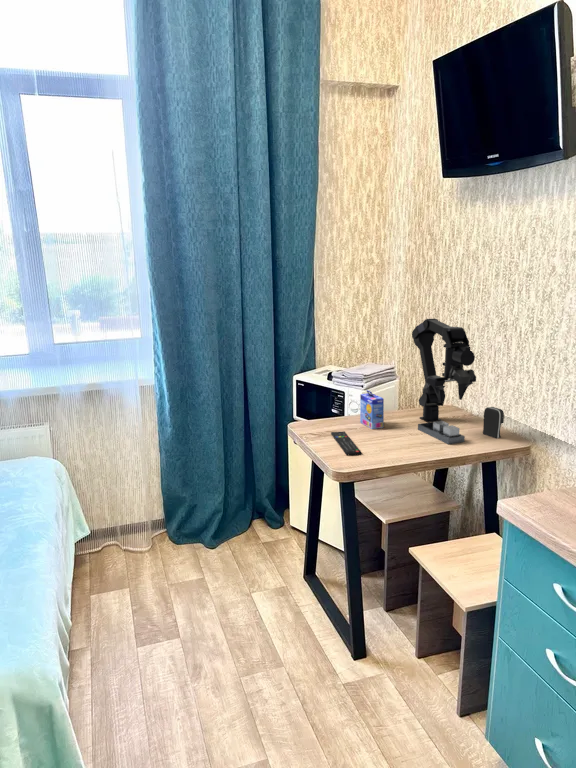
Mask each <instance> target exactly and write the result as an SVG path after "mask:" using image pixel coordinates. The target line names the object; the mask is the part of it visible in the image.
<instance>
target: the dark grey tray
mask: <svg viewBox="0 0 576 768" xmlns="http://www.w3.org/2000/svg"><path fill="white" fill-rule="evenodd" d="M417 430H418V431H420V432H421V433H424V434H426V435H428V436H430V437H432V438H434V439H436V440H438V441H441V442H442V443H444V444H446V445H448V446H449V445H455V444H456V445H457V444H461V443H465V437H466V436H465V435H463V434H461V433H459V437H453V438H448V437H446V436H444V435H443V432H442V433H438V432H436V431H434V430H433V422H424V423H418V424H417Z"/></svg>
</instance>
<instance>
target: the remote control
mask: <svg viewBox="0 0 576 768" xmlns="http://www.w3.org/2000/svg"><path fill="white" fill-rule="evenodd" d="M330 434H331V437H333V439H334V440H335V442H336V443H337V444H338V445H339V447H340V448H341V449H342V451H343V453H344V454H345V455H346V456H349V457H350V456H353V457H355V456H360V455H362V451H361V450H360V449H359V447H358V446H357V445H356V443H354V441H353V440H352V439H351V438H350V436H349V435H348V434H347V433H346V431H330Z"/></svg>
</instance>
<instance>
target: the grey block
mask: <svg viewBox="0 0 576 768" xmlns="http://www.w3.org/2000/svg"><path fill="white" fill-rule="evenodd" d="M444 426H450V425H449V423H448V422H446V421H444V420H441V421H434V422H433V430H434V431H436V432H438V433H442V432H443V427H444Z"/></svg>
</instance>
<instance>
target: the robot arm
mask: <svg viewBox="0 0 576 768" xmlns="http://www.w3.org/2000/svg"><path fill="white" fill-rule="evenodd" d="M436 335H439V336H440V337H441V340H442V341H443V342H444V344H443V348H445V354H444V362H442V366H444V370H443V371H444V372H442V373H441V376H439V375H437V372H436V366H435V360H434V354H433V349H432V346H433V344H434V341H435V336H436ZM411 337H412V340H413V343H414V346H416V347H417V348H418V351H419V355H420V360H421V365H422V373H423V377H424V386H423V388H422V394H421V395H420V397H419V399H418V405H419V406H421V407H422V408H423V409H422V416H419V419H421V420H422V421H424V422H426V423H429V422H436V421H442V418H440V411H439V409H440V406H441V407H443V406H444V404H445V400H446V392H445V387H446V385H445V383H448V382H456V383H457V389H458V391H457V392H458V399H459V400H460V401H461V400H463V398H464V396H465V393H466V391H467V389H468V388H469V387H470V386H471V385H473V384H474V383H476V382H477V376H476V374H475V370H474V369H471V368H470V369H464V366H465V367H468V366H471V365H472V364H473V363H474V361H475V359H476V355H475V353H474V352H473V351H472V350H471V346H470V340H469V339H468V336H467V333H466V331H465V328H464V327H460V326H450V325H448V324H447V323H445V322H442V321H440V320H439V319H437V318H436V317H435V318H426V319H424V320H423V322H421V323H420V324H418V325H416V326H415V327H414V329H413V330H412V331H411Z"/></svg>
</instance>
